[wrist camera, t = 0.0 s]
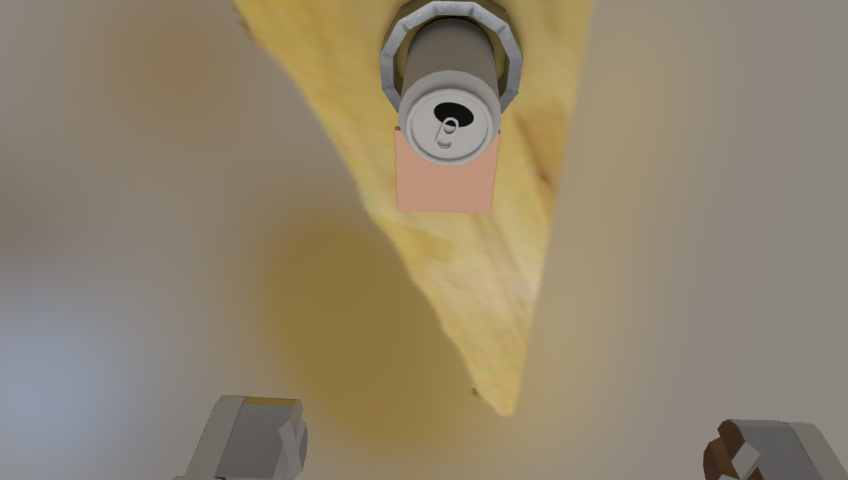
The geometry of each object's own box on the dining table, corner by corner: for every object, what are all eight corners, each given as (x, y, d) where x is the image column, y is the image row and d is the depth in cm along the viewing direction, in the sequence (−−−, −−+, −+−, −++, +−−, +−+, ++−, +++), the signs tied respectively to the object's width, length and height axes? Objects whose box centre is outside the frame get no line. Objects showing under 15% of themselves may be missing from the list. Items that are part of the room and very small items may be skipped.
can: (507, 29, 43) (520, 100, 35) (476, 107, 48) (480, 185, 40) (421, 1, 42) (412, 67, 33) (398, 84, 47) (385, 160, 38)
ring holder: (381, -14, 42) (377, -1, 39) (526, -10, 41) (530, 3, 39) (387, 115, 49) (384, 132, 47) (509, 119, 49) (511, 136, 47)
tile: (395, 127, 50) (395, 130, 50) (499, 130, 50) (500, 133, 50) (398, 207, 57) (397, 210, 57) (489, 210, 57) (490, 214, 56)
